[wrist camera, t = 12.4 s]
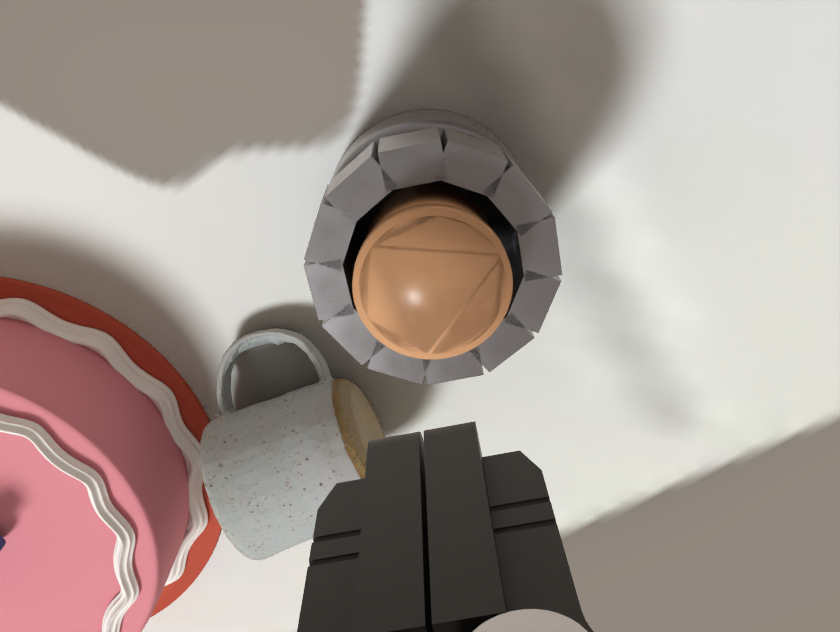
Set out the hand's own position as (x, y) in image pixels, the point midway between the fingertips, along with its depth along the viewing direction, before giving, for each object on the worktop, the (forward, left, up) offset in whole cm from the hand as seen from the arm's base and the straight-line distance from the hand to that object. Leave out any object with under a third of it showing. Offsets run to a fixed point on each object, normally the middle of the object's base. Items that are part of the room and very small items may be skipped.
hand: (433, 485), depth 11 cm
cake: (+27, +15, -30) cm, 42 cm away
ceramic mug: (+9, +14, -29) cm, 34 cm away
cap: (0, +4, -23) cm, 23 cm away
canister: (0, +4, -29) cm, 29 cm away
